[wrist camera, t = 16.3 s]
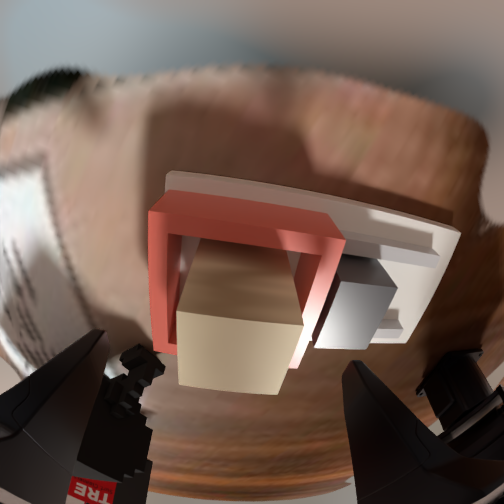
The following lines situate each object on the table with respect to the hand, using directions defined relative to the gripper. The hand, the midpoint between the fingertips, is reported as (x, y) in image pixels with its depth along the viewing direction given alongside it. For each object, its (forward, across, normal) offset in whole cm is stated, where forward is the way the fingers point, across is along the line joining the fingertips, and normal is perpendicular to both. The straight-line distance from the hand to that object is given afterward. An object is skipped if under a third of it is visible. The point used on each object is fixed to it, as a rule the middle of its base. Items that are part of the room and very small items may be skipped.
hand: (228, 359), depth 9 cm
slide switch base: (+7, -5, 0) cm, 8 cm away
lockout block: (+6, 0, 0) cm, 6 cm away
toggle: (+6, -6, 0) cm, 8 cm away
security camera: (+7, +11, +15) cm, 20 cm away
